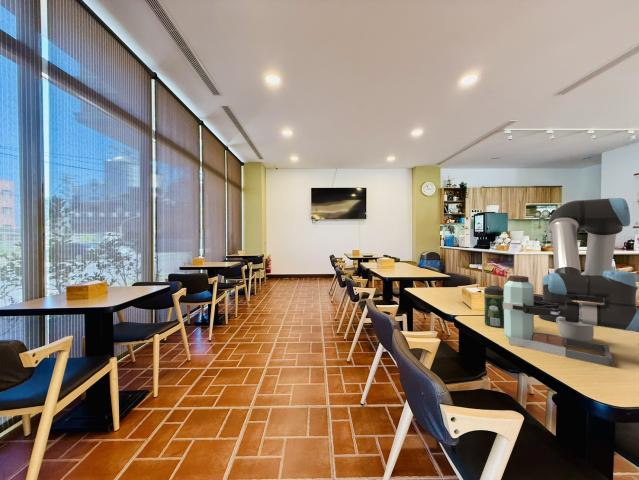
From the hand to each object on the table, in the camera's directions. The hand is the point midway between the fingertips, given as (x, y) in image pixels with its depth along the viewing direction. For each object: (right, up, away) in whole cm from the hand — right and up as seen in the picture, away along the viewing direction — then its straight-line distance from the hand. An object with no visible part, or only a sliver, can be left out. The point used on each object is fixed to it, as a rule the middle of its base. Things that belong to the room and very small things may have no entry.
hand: (505, 303), depth 115 cm
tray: (+17, -14, -16) cm, 28 cm away
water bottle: (+3, -14, -3) cm, 14 cm away
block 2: (+12, -15, -10) cm, 21 cm away
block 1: (+8, -15, -8) cm, 18 cm away
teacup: (+27, -15, -1) cm, 31 cm away
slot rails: (+8, -14, -7) cm, 18 cm away
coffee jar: (+7, -15, +18) cm, 24 cm away
